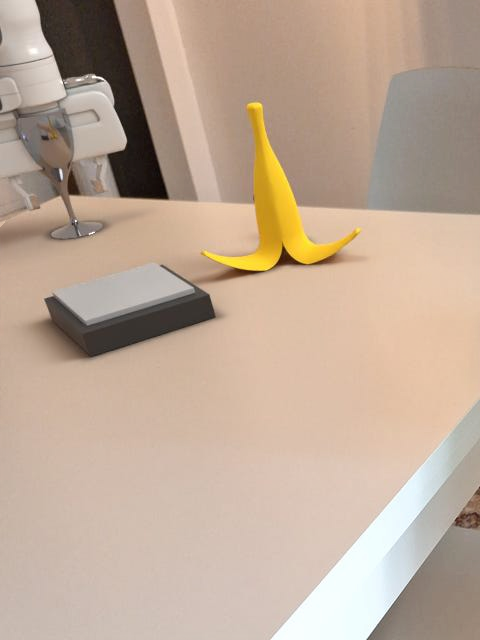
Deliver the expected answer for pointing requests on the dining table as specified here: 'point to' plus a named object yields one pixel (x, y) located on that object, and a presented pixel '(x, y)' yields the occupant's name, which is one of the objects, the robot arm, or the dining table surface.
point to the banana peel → (276, 212)
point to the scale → (128, 307)
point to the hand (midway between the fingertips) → (68, 200)
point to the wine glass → (54, 161)
